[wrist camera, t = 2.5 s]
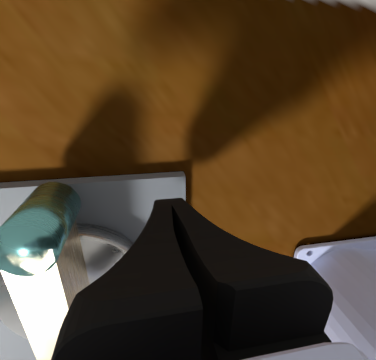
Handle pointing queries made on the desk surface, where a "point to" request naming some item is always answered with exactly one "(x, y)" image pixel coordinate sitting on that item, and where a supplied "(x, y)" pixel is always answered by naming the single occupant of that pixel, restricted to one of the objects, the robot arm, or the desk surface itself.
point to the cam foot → (50, 263)
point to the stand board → (94, 217)
